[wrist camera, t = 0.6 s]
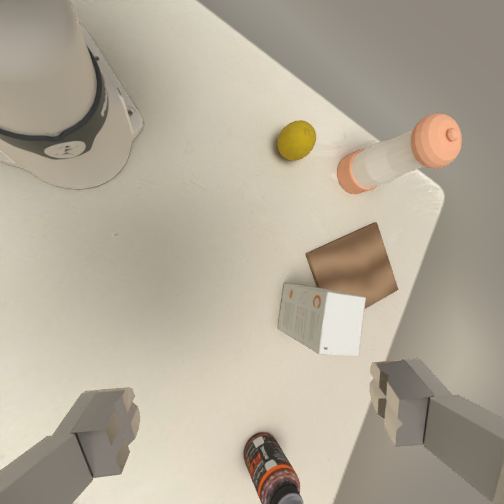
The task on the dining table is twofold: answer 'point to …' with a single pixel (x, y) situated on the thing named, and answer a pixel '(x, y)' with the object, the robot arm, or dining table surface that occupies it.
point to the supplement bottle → (271, 471)
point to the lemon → (296, 140)
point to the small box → (322, 319)
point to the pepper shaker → (402, 154)
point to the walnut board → (355, 265)
